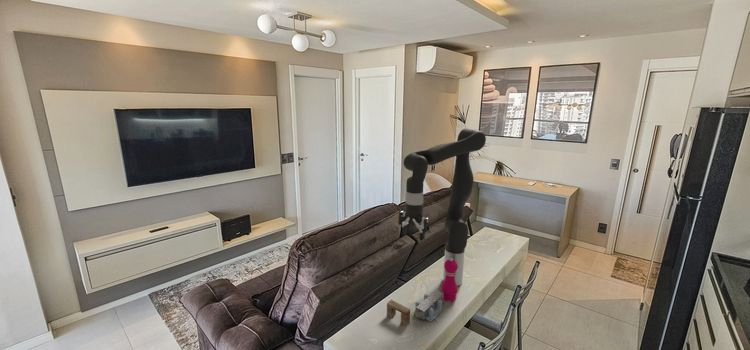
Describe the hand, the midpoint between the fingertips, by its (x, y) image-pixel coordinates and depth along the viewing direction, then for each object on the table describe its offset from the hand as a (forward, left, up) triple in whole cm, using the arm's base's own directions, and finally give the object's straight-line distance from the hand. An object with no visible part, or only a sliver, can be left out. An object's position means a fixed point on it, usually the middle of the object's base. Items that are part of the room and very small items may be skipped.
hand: (413, 237), depth 136 cm
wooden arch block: (+15, +4, -30) cm, 34 cm away
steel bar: (+2, +11, -29) cm, 31 cm away
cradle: (+3, +11, -30) cm, 32 cm away
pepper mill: (-12, +13, -30) cm, 35 cm away
